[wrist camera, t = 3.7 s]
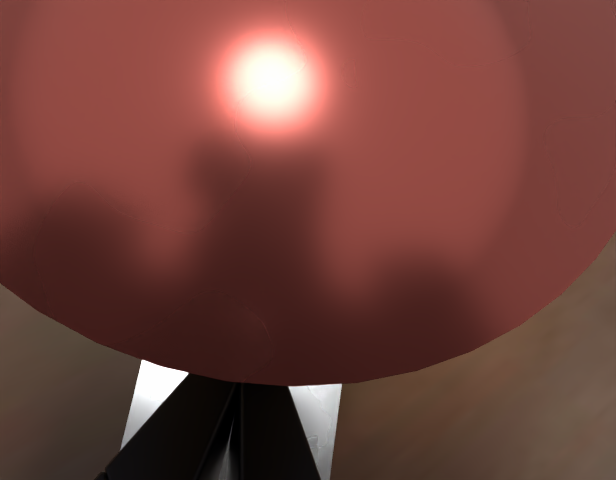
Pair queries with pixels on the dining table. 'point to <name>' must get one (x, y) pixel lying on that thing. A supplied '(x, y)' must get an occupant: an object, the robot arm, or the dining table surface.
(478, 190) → the valve
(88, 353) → the dining table surface
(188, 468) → the robot arm
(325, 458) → the grey ball socket brick
